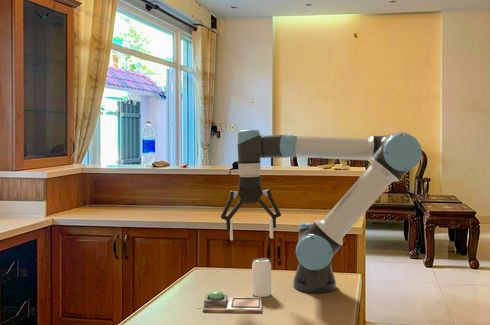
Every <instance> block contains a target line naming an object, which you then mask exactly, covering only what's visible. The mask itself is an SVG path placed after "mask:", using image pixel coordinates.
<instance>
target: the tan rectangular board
mask: <svg viewBox="0 0 490 325" xmlns="http://www.w3.org/2000/svg"><path fill="white" fill-rule="evenodd" d="M262 299H263V297H256V296H228V294H227V293H226V294H224V293H223V300H209V293H207V294H206V295H205V297H204V299H203V300H204V301H203V302H204V303H203V307H202V313H230V314H231V313H238V314H247V313H248V314H262V313H263V312H262V311H263V309H262V308H263V306H262V305H263V302H262V301H263V300H262Z"/></svg>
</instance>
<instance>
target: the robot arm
mask: <svg viewBox="0 0 490 325" xmlns="http://www.w3.org/2000/svg"><path fill="white" fill-rule="evenodd" d="M422 149H423V148H422V145H421V143H420V142H419V140H418V139H417V138H416V137H415V136H413V135H411V134H410V133H406V132H397V133H393V134H386V135H372V136H370V137H369V138H366V137H364V138H358V137H339V136H338V137H337V136H336V137H335V136H334V137H333V136H332V137H331V136H311V135H310V136H307V135H302V136H301V135H294V134H274V135H273V134H272V135H262V134H261V132H260V130H259V129H245V130H244V129H242V130H239V131H238V132H237V160H238V161H237V162H238V163H237V164H238V165H237V166H238V176H239V177H238V190H237V191H233V190H230V191H229V195H228V196H229V197H228V200H227V201H226V204H225V206H224V208H223V210H222V212H221V214H220V219H221V220H225V222H226V225H225V226H226V231H229V239H230V241H234V234H233V231H234V229H233V219H232V218H233V217H234V216H235V214H236V213H237V212H238V211H239V209H240V208H241V206H242V205H244V204H245V205H249V204H254V205H255V204H257V203H258V204H259V205H260V206H261V207H262V208H263V210H264V211H265V212H266V213H267V214H268V215H269V216H270V217H269V219H268V220H269V222H268V223H269V238H270V239H274V229H276V228H277V218H279V217H281V216H282V213H281V211H280V209H279V208H278V206H277V204H276V201H275V200H274V198H273V196H272V191H271V189H265V190H263V189H262V177H261V176H260V175H262V171H261V168H262V167H261V163H262V162H261V159H266V158H267V159H268V158H269V159H271V158H272V159H273V158H275V159H276V158H277V159H278V158H281V159H282V158H283V159H287V158H310V159H311V158H312V159H313V158H314V159H334V160H355V161H356V160H357V161H368V162H369V163H370V165H369V166H368V167H367V169H366V170H365V171H364V172H363V173H362V174H361V175H360V177H359V178H358V179H357V180H356V181H355V182H354V184H353V185H351V187H350V188H349V189H348V190H347V192H346V193H345V194H344V195H343V196H342V197H341V198H340V199H339V201H338V202H337V203H336V204H335V205H334V207H332V209H331V210H330V211H329V212H328V213H327V214H326V216H324V217H323V218H322V220H320V219H319V220H315V221H314V222H301V223H300V224H299V225H298V241H297V243H296V246H295V256H296V259H297V260H298V261H297V262H298V266H297V268H296V272H295V275H294V278H293V284H292V286H293V288H294V289H296V290H298V291H301V292H305V293H314V294H320V293H321V294H322V293H323V294H324V293H329V292H333V291H336V288H337V282H336V281H337V280H336V277H335V274H334V271H333V268H332V260H333V257H334V255H335V254H336V253H337V252H338V251H339V250H340V248H342V246H343V245H344V239H343V238H344V236H346V235H347V233H348V232H349V231H350V230H351V229H352V228H353V227H354V225H355V224H356V223H357V222H359V220H360V218H361V217H362V216H363V215H364V214H366V212H367V211H368V210H369V209H370V207H371V206H372V205H373V204H374V203H375V202H376V201H377V199H378V198H380V196H381V195H382V194H383V193H384V191H385V190H386V189H388V187H389V186H390V185H391V184H392V183H393V182H400V181H401V180H402V178H404V176H406V174H407V173H408V172H409V171H411V170H412V169H414V168H415V167H416V166H418V164H419V163H420V161H421V159H422V157H423V156H422V155H423V150H422ZM263 195H264V196H265V197H267V200H268V201H269V203H270V205H271V206H272V209H273V211H274V212H275V213H274V212H273V211H272V209H270V208H269V207H268V205H266V203H264V201H263V200H262V199H261V198H262V197H263ZM237 196H238V198H240V199H239V200H238V202H237V203H236V204H235V206H234V207H233V208H232V210H230V207H231V205H232V203H233V200H234V199H235V198H236V197H237ZM229 210H230V212H229ZM228 212H229V213H228Z"/></svg>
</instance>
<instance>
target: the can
mask: <svg viewBox="0 0 490 325" xmlns="http://www.w3.org/2000/svg"><path fill="white" fill-rule="evenodd" d="M251 273H252V274H251V276H252V277H251V286H252V287H251V292H252V293H251V294H252V295H253V297H262V298H268V297H270V296H271V295H272V263H271V259H270V258H268V257H267V258H266V257H257V258H253V261H252V265H251Z"/></svg>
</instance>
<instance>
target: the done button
mask: <svg viewBox="0 0 490 325" xmlns="http://www.w3.org/2000/svg"><path fill="white" fill-rule="evenodd" d="M208 294H209V300H223V294H224V292H223V291H221V290H211V291H209V292H208Z"/></svg>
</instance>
